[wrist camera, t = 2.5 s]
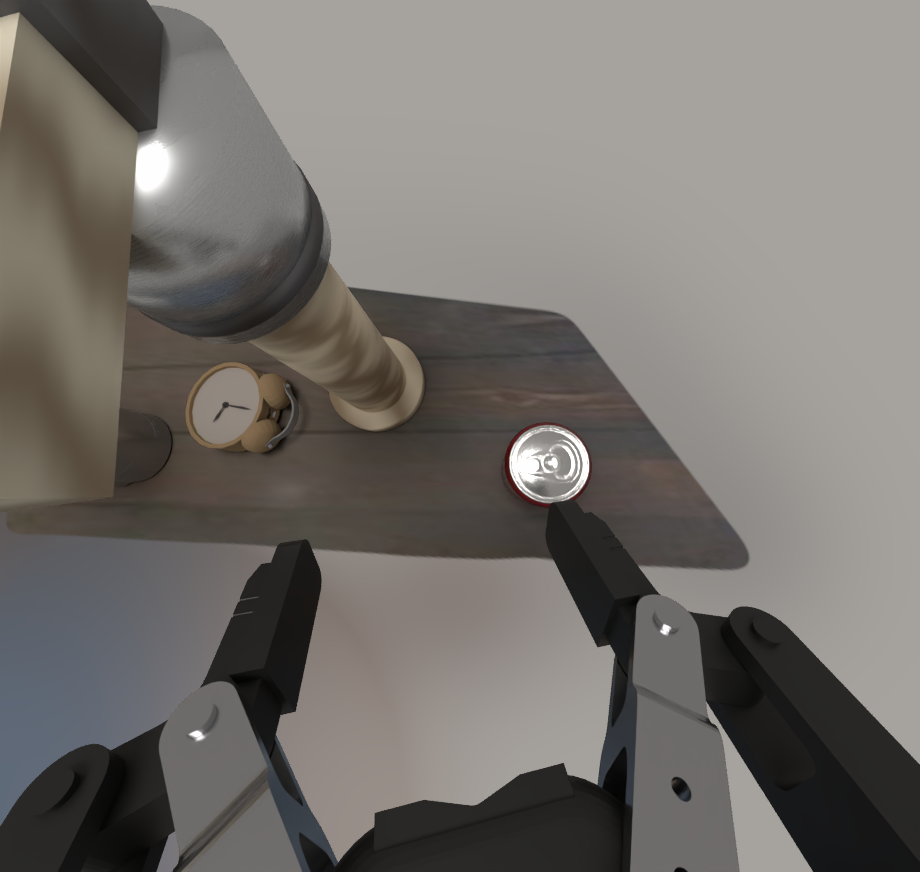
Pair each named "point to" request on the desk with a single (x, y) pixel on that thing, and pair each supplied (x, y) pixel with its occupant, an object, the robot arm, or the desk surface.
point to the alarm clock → (239, 409)
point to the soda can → (546, 464)
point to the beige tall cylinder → (249, 238)
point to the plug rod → (67, 236)
